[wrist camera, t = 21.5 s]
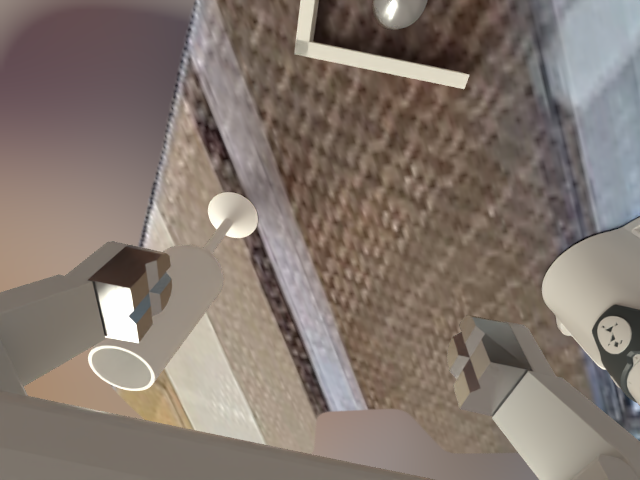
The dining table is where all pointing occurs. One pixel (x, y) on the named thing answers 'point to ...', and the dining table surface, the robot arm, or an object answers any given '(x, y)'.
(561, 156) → the dining table surface
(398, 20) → the steel part
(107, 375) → the champagne flute
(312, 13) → the frame
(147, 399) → the dining table surface
